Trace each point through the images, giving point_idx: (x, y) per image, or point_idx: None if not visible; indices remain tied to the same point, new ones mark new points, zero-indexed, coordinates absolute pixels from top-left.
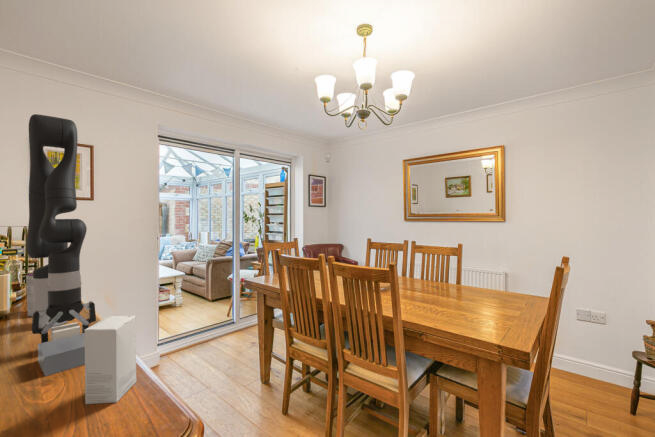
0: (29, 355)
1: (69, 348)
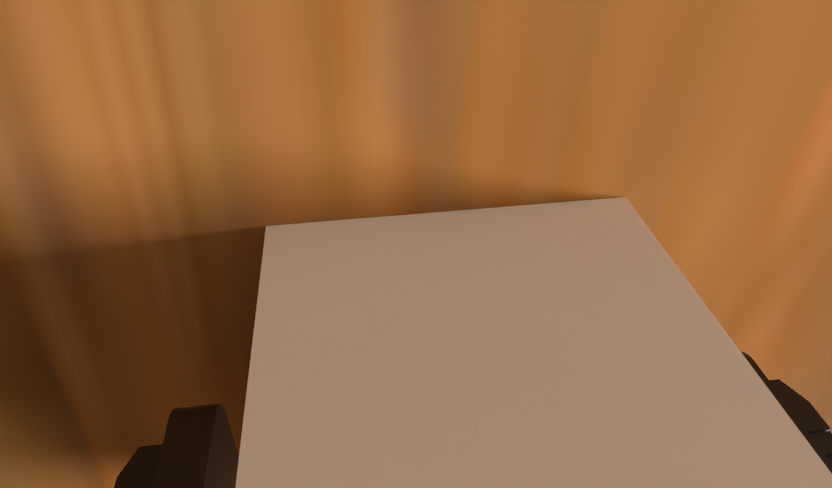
0: (19, 368)
1: None
